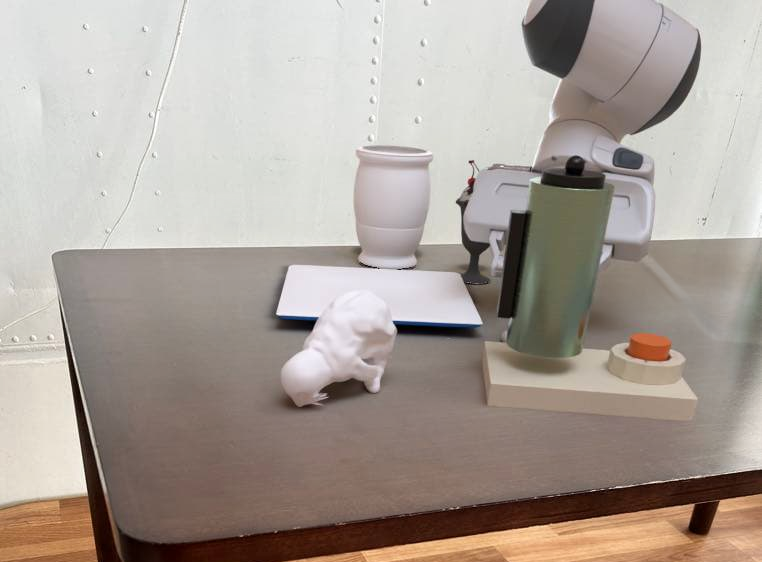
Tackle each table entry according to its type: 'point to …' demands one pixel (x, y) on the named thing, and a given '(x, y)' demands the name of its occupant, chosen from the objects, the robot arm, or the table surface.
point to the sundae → (471, 246)
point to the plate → (381, 294)
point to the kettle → (554, 260)
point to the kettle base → (589, 383)
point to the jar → (391, 204)
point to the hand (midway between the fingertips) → (540, 280)
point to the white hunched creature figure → (342, 347)
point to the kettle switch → (649, 347)
